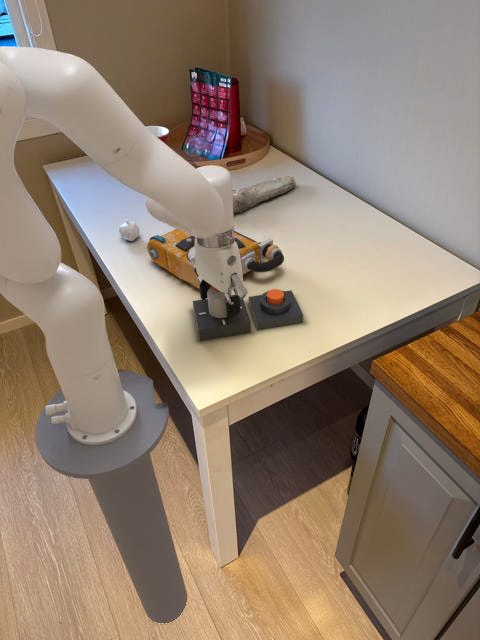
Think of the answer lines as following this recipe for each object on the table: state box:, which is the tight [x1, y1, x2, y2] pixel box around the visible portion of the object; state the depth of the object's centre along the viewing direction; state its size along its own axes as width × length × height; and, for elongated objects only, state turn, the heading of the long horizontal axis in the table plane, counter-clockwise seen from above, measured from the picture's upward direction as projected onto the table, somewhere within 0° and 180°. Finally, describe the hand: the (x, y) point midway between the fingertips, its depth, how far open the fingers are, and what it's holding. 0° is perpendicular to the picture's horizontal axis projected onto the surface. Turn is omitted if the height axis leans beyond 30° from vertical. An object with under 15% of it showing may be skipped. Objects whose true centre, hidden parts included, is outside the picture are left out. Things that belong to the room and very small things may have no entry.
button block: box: [248, 289, 304, 330], centre depth 106 cm, size 10×9×4 cm
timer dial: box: [207, 286, 233, 318], centre depth 102 cm, size 5×5×5 cm
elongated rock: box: [232, 175, 297, 215], centre depth 148 cm, size 35×5×10 cm
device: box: [146, 228, 285, 290], centre depth 119 cm, size 23×8×30 cm
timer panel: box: [192, 294, 252, 341], centre depth 104 cm, size 11×10×3 cm
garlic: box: [118, 219, 141, 242], centre depth 133 cm, size 6×5×5 cm
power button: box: [266, 288, 284, 305], centre depth 104 cm, size 4×4×2 cm
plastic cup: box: [145, 125, 170, 145], centre depth 171 cm, size 11×11×12 cm
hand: (220, 305), depth 103 cm, fingers open, 8 cm apart
